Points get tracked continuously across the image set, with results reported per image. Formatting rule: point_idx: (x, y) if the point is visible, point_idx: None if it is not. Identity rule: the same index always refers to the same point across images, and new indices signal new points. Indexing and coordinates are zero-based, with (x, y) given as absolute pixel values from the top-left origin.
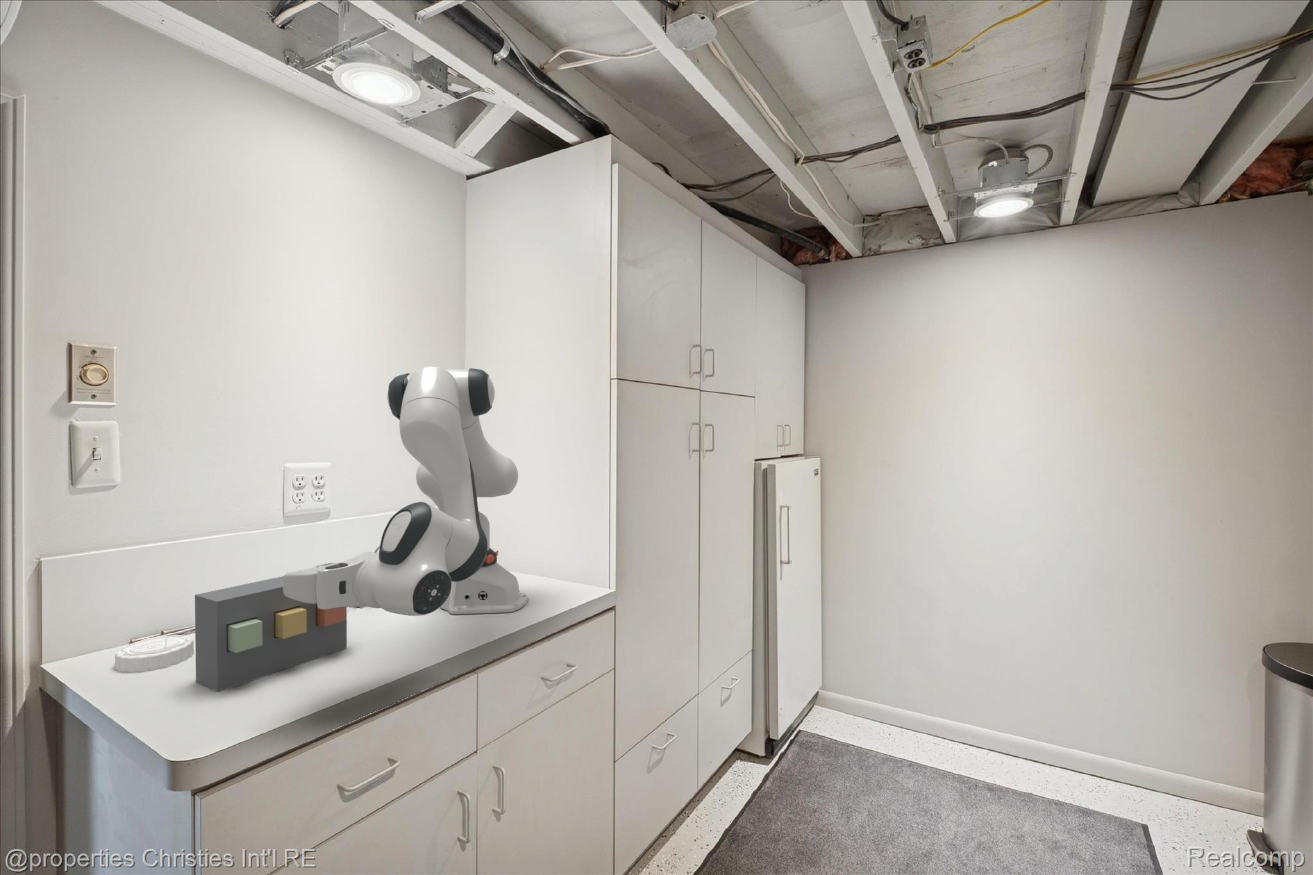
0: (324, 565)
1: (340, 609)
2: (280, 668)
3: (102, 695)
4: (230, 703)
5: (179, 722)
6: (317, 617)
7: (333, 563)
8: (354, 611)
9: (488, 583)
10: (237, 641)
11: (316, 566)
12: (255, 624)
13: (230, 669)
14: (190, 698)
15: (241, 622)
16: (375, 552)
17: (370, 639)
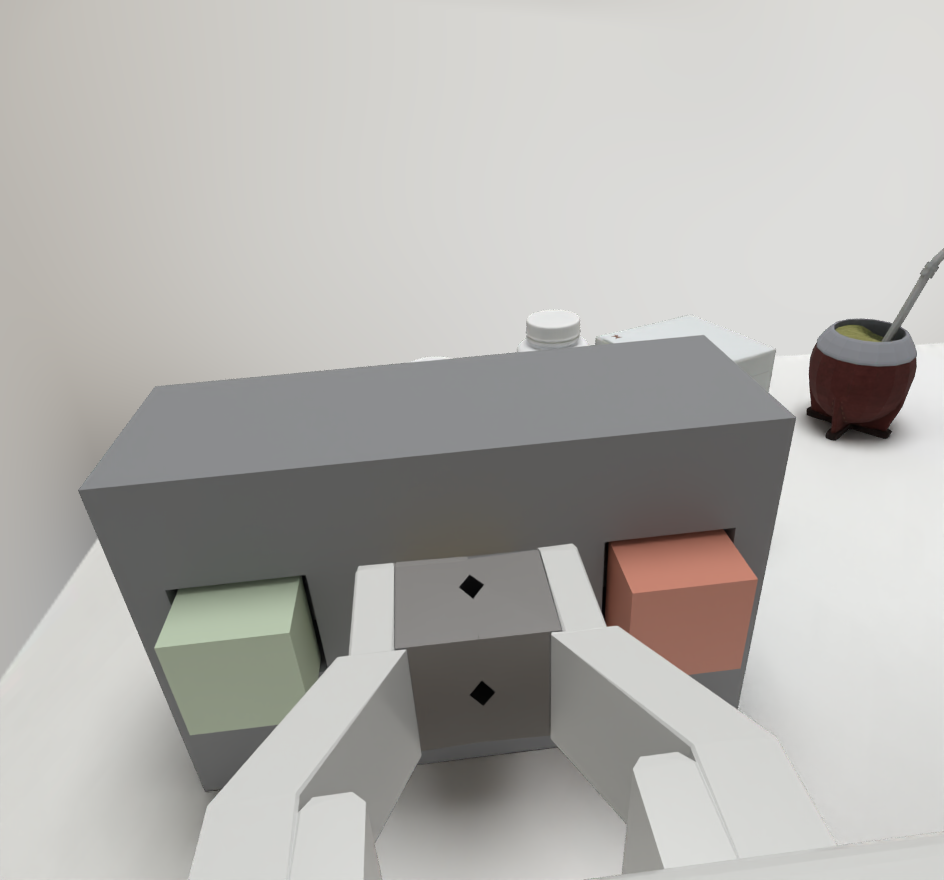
0: (417, 620)
1: (720, 622)
2: (443, 755)
3: (91, 583)
4: None
5: None
6: (609, 607)
7: (562, 600)
8: (814, 456)
9: None
10: (182, 698)
11: (357, 573)
12: (254, 643)
13: (234, 738)
14: (130, 777)
15: (235, 589)
16: (937, 261)
17: (848, 705)
